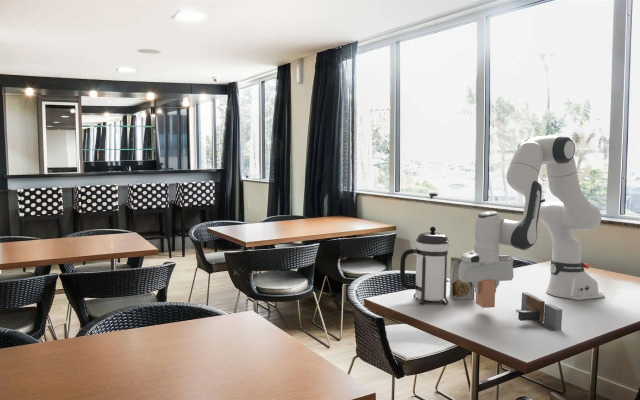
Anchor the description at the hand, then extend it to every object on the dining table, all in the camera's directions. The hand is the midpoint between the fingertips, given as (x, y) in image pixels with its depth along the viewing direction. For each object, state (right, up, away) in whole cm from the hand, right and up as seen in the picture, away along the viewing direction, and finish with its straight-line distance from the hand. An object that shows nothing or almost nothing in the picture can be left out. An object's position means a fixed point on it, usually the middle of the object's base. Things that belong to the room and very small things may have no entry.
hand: (485, 292), depth 193 cm
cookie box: (-3, -6, +22) cm, 23 cm away
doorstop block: (0, -5, 0) cm, 5 cm away
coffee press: (-18, -6, +16) cm, 25 cm away
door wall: (+17, -9, -6) cm, 20 cm away
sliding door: (+12, -8, -7) cm, 16 cm away
